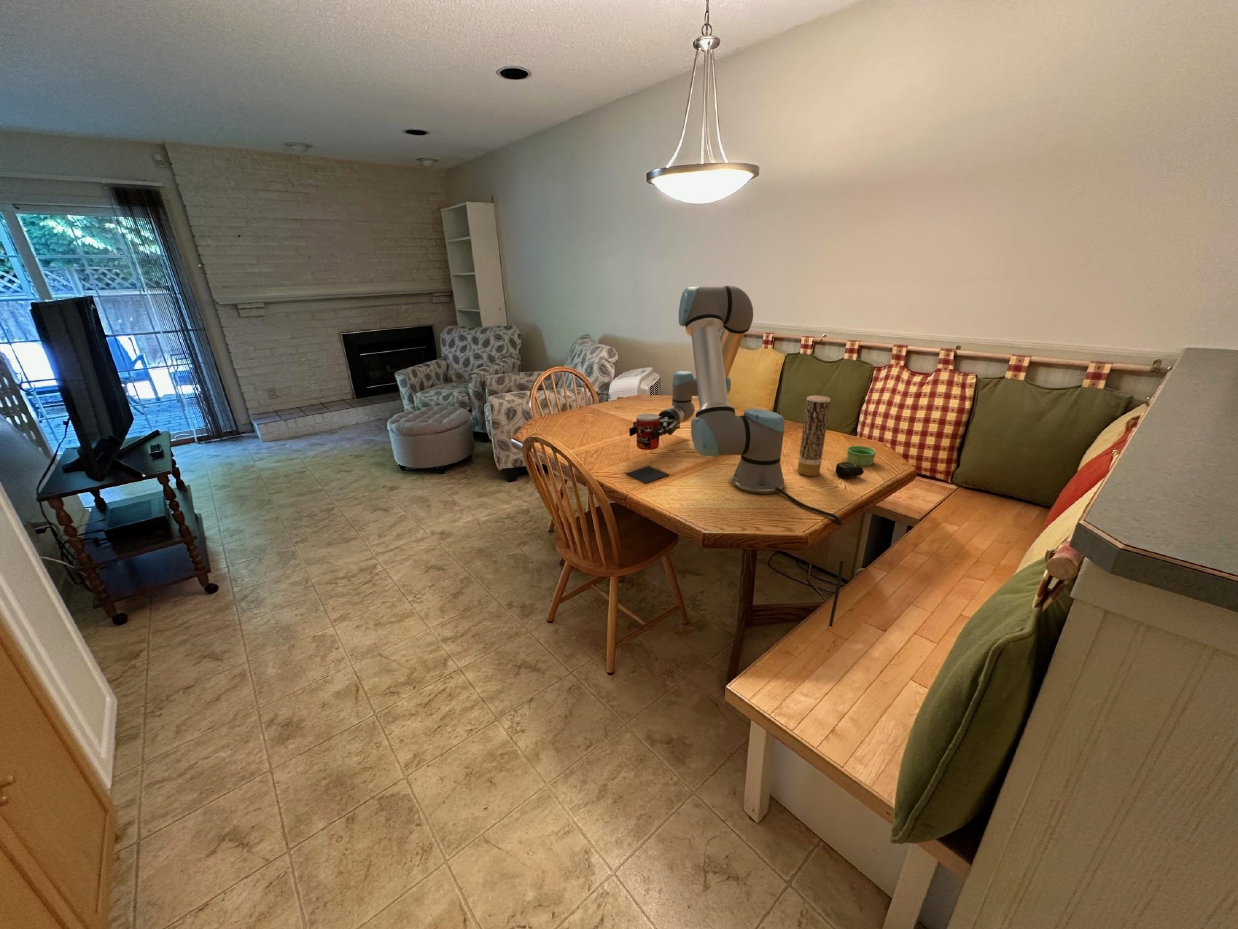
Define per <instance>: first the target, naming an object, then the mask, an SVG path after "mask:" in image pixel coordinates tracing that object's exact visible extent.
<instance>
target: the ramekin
mask: <svg viewBox="0 0 1238 929" xmlns="http://www.w3.org/2000/svg"><path fill="white" fill-rule="evenodd" d="M846 452H847V453H846V454H847V455H846V460H847V461H846V462H850V463H854V464H856V465H857V466H860V467H866V466H871V465H872V464H873V463H874V460H875V456H876V455H877V451H876V449H874V448H871V447H868V446H863V445H852V446H848V447H847V448H846Z"/></svg>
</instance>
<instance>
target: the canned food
mask: <svg viewBox="0 0 1238 929" xmlns="http://www.w3.org/2000/svg"><path fill="white" fill-rule="evenodd" d="M658 415H659V414H655V413H641V414H637V416H636V419H635V421H636V448H637V449H639V450H643V451H652V450H657V449H658V448H659V447H660V436H659V437H657V438H656V439H654V440H651V432H652V431H654V430H656V429H657V428H659V416H658Z"/></svg>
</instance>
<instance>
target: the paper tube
mask: <svg viewBox="0 0 1238 929" xmlns="http://www.w3.org/2000/svg"><path fill="white" fill-rule="evenodd" d="M830 407H831V397H828V396H825V395H808V396H806V402H805V409H804V417H803V424H802V432H801V440H800V445H799V446H800V448H799V454H798V455H799V456H798V463H797V472H798V473H799V474H800V475H802V476H806V477H816V476H818V475H819V474H820V472H821V465H822V460H823V454H824V446H825V440H826V439H825V438H826V432H827V427H828V426H827V425H828V420H829V413H830Z"/></svg>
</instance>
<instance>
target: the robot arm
mask: <svg viewBox="0 0 1238 929" xmlns="http://www.w3.org/2000/svg"><path fill="white" fill-rule="evenodd" d="M752 303H753V302H752V301H751V299H750V297H749V295H748V294H747V293H746V292H745V291H744V290H743V289H742V288H740V287H737V286H735V285H714V286H713V285H712V286H711V285H709V286H707V285H706V286H699V285H696V286H688V287H685V289H683V291H682V293H681V297H680V301H679V306H678V307H679V308H678V324H679V326H680V327H685V332H686V334H687V335H688V336H689V337H691V343H692V351H693V359H694V362H693V363H694V368H695V369H694V370H695V371H694V372H695V375H694V373H693V371H688V370H678V371H675V372H674V373H673V375H672V383H671V385H672V399H671V402H672V403H671V406H670V407H666V408H665V409H664V410H661V411H660V412H659V413H658V414H657V415H658V416H659V428H657V429H656V430H654V431H652V432H651V440H654V439H656V438H657V437H659V438H660V437H661V436H665V435H668V436H672V435H673V434H674V433H675V432H676V431H677V430H678V429H680V428H681V424H683V423H685V422H687V421H688V420H690V419H691V418H692V417H693V415H695V417H693V418H692V419H691V421H690V437H691V441H692V445H693V447H694V449H695V451H696V453H698V455H700V456H702V457H713V458H716V457H722V456H723V457H725V456H740V460H739V462H738V464H737V466H736V468H735V471H734V473H733V475H732V484H733V486H734V487H736V489H739V490H740V491H744V492H746V493H750V494H756V495H773V494H777V493H779V494H782V495H783V496H785V497H786V498H787V499H789V500H791V501H792V502H793V503H795V504H796V505H798V506H800V507H802V508H804V509H807V510H810V511H812V512H816V513H818V514H821V515H824V516H827V517H830V518H832V519H834V520H835V521H836V522H837V524H838V525H840V526H843V525H844V524H843V522H842V519H840V517H838V515H836V514H834V513H832V512H827V511H825V510H822V509H819V508H816V507H813V506H810V505H808V504H805V503H803V502H801V501H799V500H798V499H796V498H794V497H793V496H791V495H790V494H789V493H787V492H786V491H784V486H785V478H784V474H783V469H782V464H781V459H782V449H783V443H784V442H783V441H784V434H785V419H784V417H783V416H782V415H781V414H779V413H777V412H775V411H771V410H767V409H762V408H747V409H745V410H744V412H743V415H736V409H735V407H734V406H733V405H731V404H730V403H729V396H728V394H729V393H730V392H731V387H732V380H731V377H730V376H729V375H730V373H731V370H732V367H733V365H734V362H735V359H736V357H737V354H738V352H739V349H740V346H741V343H742V341H743V338H744V336H745V334H746V333H748V332H749V331H750V329H751V327H752V324H753V320H754V306H753V304H752ZM693 397H698V405H699V408H698V410H696V407H695V404H694V403H693V402H692V401H693ZM628 431H629V437H633V436H635V435H637V433H636V420H634V421H633V422H632V426H631V427H630V428H628ZM843 568H844V560H839V563H838V572H837V580H836V587H835V591H834V598H833V602H832V608H831V612H830V616H829V617H830V618H829V621H828V627H829V626H831V627H832V628H833V624H834V620H835V614H836V611H837V610H836V609H837V606H838V600H839V594H840V590H841V582H842V576H843V570H844V569H843Z"/></svg>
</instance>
